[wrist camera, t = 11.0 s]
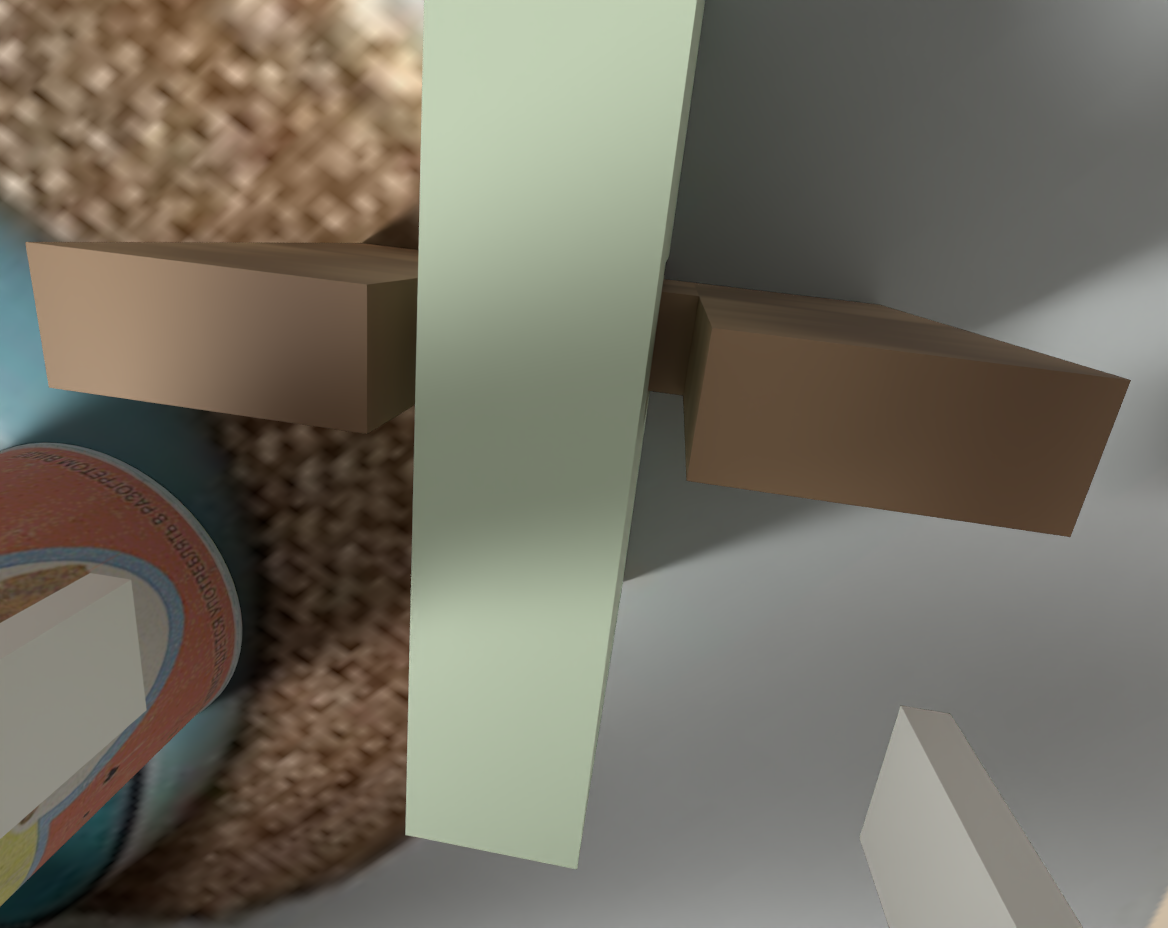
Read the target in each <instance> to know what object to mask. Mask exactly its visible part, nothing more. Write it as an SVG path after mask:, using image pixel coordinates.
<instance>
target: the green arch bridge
mask: <svg viewBox="0 0 1168 928" xmlns="http://www.w3.org/2000/svg"><path fill="white" fill-rule="evenodd" d="M704 6H705V0H424V31H423V76H422V120H421V164H420V209H419V253H418V297H417V342H416V386H415V431H414V475H413V519H412V564H411V608H410V652H409V697H408V741H407V785H406V830H405V835H408V836H413V837H418V838H423V839H428V840H433V841H438V842H443V843H448V844H453V845H458V846H463V847H468V848H473V849H478V850H483V851H488V852H493V853H498V854H503V855H508V856H513V857H518V858H523V859H527V860H532V861H537V862H542V863H547V864H552V865H557V866H562V867H567V868H572V869H577V866H578V859H579V853H580V847H581V841H582V834H583V828H584V822H585V816H586V809H587V803H588V797H589V791H590V784H591V778H592V772H593V766H594V759H595V753H596V747H597V741H598V734H599V728H600V722H601V716H602V710H603V703H604V697H605V691H606V685H607V678H608V672H609V666H610V660H611V653H612V647H613V641H614V635H615V628H616V622H617V616H618V610H619V603H620V597H621V591H622V585H623V578H624V571H625V564H626V557H627V550H628V543H629V536H630V529H631V521H632V514H633V507H634V500H635V493H636V486H637V479H638V472H639V465H640V458H641V451H642V444H643V437H644V430H645V423H646V415H647V408H648V401H649V394H650V391H648V385H649V378H650V371H651V363H652V356H653V349H654V342H655V335H656V328H657V321H658V314H659V306H660V299H661V292H662V285H663V278H664V271H665V264H666V261H667V260H668V258H669V253H670V246H671V239H672V232H673V225H674V218H675V211H676V204H677V197H678V189H679V182H680V175H681V168H682V161H683V154H684V147H685V140H686V133H687V126H688V119H689V112H690V105H691V98H692V91H693V84H694V76H695V69H696V62H697V55H698V48H699V41H700V34H701V27H702V20H703V13H704Z"/></svg>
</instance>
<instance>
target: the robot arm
mask: <svg viewBox="0 0 1168 928" xmlns="http://www.w3.org/2000/svg"><path fill="white" fill-rule="evenodd" d="M146 710H147V709H146V701H145V692H144V684H143V675H142V667H141V659H140V650H139V642H138V633H137V625H136V616H135V608H134V599H133V591H132V583H131V580H130V579H124V578H118V577H112V576H106V575H100V574H94V573H89V574H88V575H86V576H84V577H82V578H80V579H79V580H77V581H75V582H73V583H71V584H70V585H68V586H66V587H64V588H62V589H61V590H59V591H57V592H55V593H53V594H52V595H50V596H48V597H46V598H44V599H43V600H41V601H39V602H37V603H35V604H34V605H32V606H30V607H28V608H26V609H25V610H23V611H21V612H19V613H17V614H16V615H14V616H12V617H10V618H8V619H7V620H5V621H3V622H1V623H0V839H1V838H2V837H3V836H4V835H5V834H7V833H8V832H9V831H10V830H11V829H12V828H13V827H14V826H16V825H17V824H18V823H19V822H20V821H21V820H22V819H24V818H25V817H26V816H27V815H28V814H29V813H30V812H32V811H33V810H34V809H35V808H36V807H37V806H38V805H39V804H41V803H42V802H43V801H44V800H45V799H46V798H47V797H49V796H50V795H51V794H52V793H53V792H54V791H55V790H57V789H58V788H59V787H60V786H61V785H62V784H63V783H64V782H66V781H67V780H68V779H69V778H70V777H71V776H72V775H74V774H75V773H76V772H77V771H78V770H79V769H80V768H82V767H83V766H84V765H85V764H86V763H87V762H88V761H89V760H91V759H92V758H93V757H94V756H95V755H96V754H97V753H99V752H100V751H101V750H102V749H103V748H104V747H105V746H107V745H108V744H109V743H110V742H111V741H112V740H113V739H114V738H116V737H117V736H118V735H119V734H120V733H121V732H122V731H124V730H125V729H126V728H127V727H128V726H129V725H130V724H132V723H133V722H134V721H135V720H136V719H137V718H138V717H139V716H141V715H142V714H143V713H144V712H145V711H146ZM859 839H860V842H861V845H862V848H863V851H864V854H865V857H866V860H867V863H868V866H869V869H870V872H871V875H872V878H873V881H874V884H875V887H876V890H877V893H878V896H879V899H880V902H881V905H882V908H883V911H884V914H885V917H886V920H887V923H888V926H889V928H1083V927H1082V925H1081V924H1080V922H1079V920H1078V919H1077V917H1076V916H1075V914H1074V912H1073V911H1072V909H1071V908H1070V906H1069V904H1068V903H1067V901H1066V899H1065V898H1064V896H1063V895H1062V893H1061V891H1060V890H1059V888H1058V887H1057V885H1056V883H1055V882H1054V880H1053V879H1052V877H1051V875H1050V874H1049V872H1048V870H1047V869H1046V867H1045V866H1044V864H1043V862H1042V861H1041V859H1040V858H1039V856H1038V854H1037V853H1036V851H1035V850H1034V848H1033V846H1032V845H1031V843H1030V841H1029V840H1028V838H1027V837H1026V835H1025V833H1024V832H1023V830H1022V829H1021V827H1020V825H1019V824H1018V822H1017V820H1016V819H1015V817H1014V816H1013V814H1012V812H1011V811H1010V809H1009V808H1008V806H1007V804H1006V803H1005V801H1004V800H1003V798H1002V796H1001V795H1000V793H999V791H998V790H997V788H996V787H995V785H994V783H993V782H992V780H991V779H990V777H989V775H988V774H987V772H986V771H985V769H984V767H983V766H982V764H981V762H980V761H979V759H978V758H977V756H976V754H975V753H974V751H973V750H972V748H971V746H970V745H969V743H968V742H967V740H966V738H965V737H964V735H963V733H962V732H961V730H960V729H959V727H958V725H957V724H956V722H955V721H954V719H953V717H952V716H951V714H950V713H944V712H938V711H932V710H925V709H919V708H913V707H907V706H900V709H899V712H898V716H897V719H896V722H895V725H894V728H893V732H892V735H891V738H890V741H889V744H888V748H887V751H886V754H885V757H884V761H883V764H882V767H881V770H880V773H879V777H878V780H877V783H876V786H875V789H874V793H873V796H872V799H871V802H870V805H869V809H868V812H867V815H866V818H865V821H864V825H863V828H862V831H861V834H860V837H859Z"/></svg>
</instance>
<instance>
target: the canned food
mask: <svg viewBox="0 0 1168 928" xmlns="http://www.w3.org/2000/svg"><path fill="white" fill-rule="evenodd" d="M89 573H94V574H100V575H106V576H112V577H118V578H124V579H130V580H131V583H132V591H133V599H134V608H135V616H136V625H137V633H138V642H139V650H140V659H141V667H142V675H143V684H144V692H145V701H146V709H147V710H146V711H145V712H144V713H143V714H142V715H141V716H139V717H138V718H137V719H136V720H135V721H134V722H133V723H132V724H130V725H129V726H128V727H127V728H126V729H125V730H124V731H122V732H121V733H120V734H119V735H118V736H117V737H116V738H114V739H113V740H112V741H111V742H110V743H109V744H108V745H107V746H105V747H104V748H103V749H102V750H101V751H100V752H99V753H97V754H96V755H95V756H94V757H93V758H92V759H91V760H89V761H88V762H87V763H86V764H85V765H84V766H83V767H82V768H80V769H79V770H78V771H77V772H76V773H75V774H74V775H72V776H71V777H70V778H69V779H68V780H67V781H66V782H64V783H63V784H62V785H61V786H60V787H59V788H58V789H57V790H55V791H54V792H53V793H52V794H51V795H50V796H49V797H47V798H46V799H45V800H44V801H43V802H42V803H41V804H39V805H38V806H37V807H36V808H35V809H34V810H33V811H32V812H30V813H29V814H28V815H27V816H26V817H25V818H24V819H22V820H21V821H20V822H19V823H18V824H17V825H16V826H14V827H13V828H12V829H11V830H10V831H9V832H8V833H7V834H5V835H4V836H3V837H2V838H1V839H0V906H1V905H2V904H3V903H4V902H5V901H6V900H7V899H8V898H9V897H10V896H12V895H13V894H14V893H15V892H16V891H17V890H18V889H19V888H20V887H21V886H22V885H23V884H24V883H25V882H26V881H27V880H28V879H29V878H30V877H31V876H32V875H33V874H34V873H35V872H36V871H37V870H38V869H39V868H40V867H41V866H42V865H43V864H44V863H45V862H46V861H47V860H48V859H49V858H50V857H51V856H52V855H53V854H54V853H55V852H56V851H57V850H58V849H59V848H61V847H62V846H63V845H64V844H65V843H66V842H67V841H68V840H69V839H70V838H71V837H72V836H73V835H74V834H75V833H76V832H77V831H78V830H79V829H80V828H81V827H82V826H83V825H84V824H85V823H86V822H87V821H88V820H89V819H90V818H91V817H92V816H93V815H94V814H95V813H96V812H97V811H98V810H99V809H100V808H101V807H102V806H103V805H104V804H105V803H106V802H107V801H108V800H109V799H111V798H112V797H113V796H114V795H115V794H116V793H117V792H118V791H119V790H120V789H121V788H122V787H123V786H124V785H125V784H126V783H127V782H128V781H129V780H130V779H131V778H132V777H133V776H134V775H135V774H136V773H137V772H138V771H139V770H140V769H141V768H142V767H143V766H144V765H145V764H146V763H147V762H148V761H149V760H150V759H151V758H152V757H153V756H154V755H155V754H156V753H157V752H158V751H160V750H161V749H162V748H163V747H164V746H165V745H166V744H167V743H168V742H169V741H170V740H171V739H172V738H173V737H174V736H175V735H176V734H177V733H178V732H179V731H180V730H181V729H182V728H183V727H184V726H185V725H186V724H187V723H188V722H189V721H190V720H191V719H192V718H193V717H194V716H195V715H197V714H199V713H200V712H202V711H203V710H204V709H205V708H207V707H208V706H209V705H210V704H211V703H212V702H213V701H214V700H215V699H216V698H217V697H218V696H219V695H220V694H221V693H222V691H223V690H224V689H225V687H226V686H227V685H228V683H229V681H230V679H231V677H232V676H233V673H234V671H235V668H236V666H237V663H238V659H239V655H240V650H241V643H242V618H241V610H240V605H239V600H238V596H237V592H236V589H235V585H234V582H233V580H232V577H231V575H230V572H229V570H228V568H227V566H226V564H225V562H224V560H223V558H222V556H221V554H220V552H219V550H218V549H217V547H216V545H215V544H214V542H213V540H212V539H211V538H210V536H209V535H208V534H207V532H206V531H205V529H204V528H203V527H202V525H201V524H200V523H199V522H198V521H197V519H196V518H195V517H194V516H193V515H192V513H191V512H190V511H189V510H188V509H187V508H186V507H185V506H184V505H183V504H182V503H181V502H180V501H179V500H178V499H176V498H175V497H174V496H173V495H172V494H171V493H170V492H168V491H167V490H166V489H165V488H164V487H162V486H161V485H160V484H158V483H157V482H156V481H154V480H153V479H152V478H150V477H148V476H147V475H145V474H144V473H142V472H141V471H139V470H137V469H136V468H134V467H132V466H130V465H128V464H126V463H124V462H123V461H120V460H118V459H116V458H113V457H111V456H109V455H106V454H104V453H101V452H98V451H95V450H92V449H88V448H84V447H80V446H75V445H69V444H62V443H31V444H25V445H20V446H15V447H12V448H9V449H5V450H2V451H0V623H1V622H3V621H5V620H7V619H8V618H10V617H12V616H14V615H16V614H17V613H19V612H21V611H23V610H25V609H26V608H28V607H30V606H32V605H34V604H35V603H37V602H39V601H41V600H43V599H44V598H46V597H48V596H50V595H52V594H53V593H55V592H57V591H59V590H61V589H62V588H64V587H66V586H68V585H70V584H71V583H73V582H75V581H77V580H79V579H80V578H82V577H84V576H86V575H88V574H89Z"/></svg>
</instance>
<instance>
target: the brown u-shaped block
mask: <svg viewBox="0 0 1168 928" xmlns="http://www.w3.org/2000/svg"><path fill="white" fill-rule="evenodd" d="M26 249H27V255H28V261H29V267H30V273H31V279H32V286H33V292H34V298H35V304H36V310H37V317H38V323H39V329H40V335H41V341H42V348H43V354H44V360H45V366H46V372H47V378H48V385H49V387H50V388H56V389H63V390H70V391H77V392H84V393H90V394H97V395H104V396H111V397H118V398H125V399H131V400H138V401H145V402H152V403H159V404H166V405H172V406H179V407H186V408H193V409H200V410H207V411H213V412H220V413H227V414H234V415H241V416H248V417H254V418H261V419H268V420H275V421H282V422H289V423H295V424H302V425H309V426H316V427H323V428H329V429H336V430H343V431H350V432H357V433H364V434H368V433H369V432H371V431H373V430H374V429H376V428H378V427H379V426H381V425H382V424H384V423H386V422H387V421H389V420H391V419H392V418H394V417H396V416H397V415H399V414H400V413H402V412H404V411H405V410H407V409H409V408H410V407H412V406H413V405H415V386H416V342H417V297H418V253H419V250H415V249H407V248H399V247H390V246H382V245H373V244H365V243H201V242H26ZM1130 381H1131V380H1129V379H1125V378H1122V377H1119V376H1115V375H1112V374H1109V373H1105V372H1102V371H1099V370H1095V369H1092V368H1089V367H1085V366H1082V365H1079V364H1075V363H1072V362H1069V361H1065V360H1062V359H1059V358H1055V357H1052V356H1049V355H1045V354H1042V353H1039V352H1035V351H1032V350H1029V349H1025V348H1022V347H1019V346H1015V345H1012V344H1009V343H1005V342H1002V341H999V340H995V339H992V338H989V337H986V336H982V335H979V334H976V333H972V332H969V331H966V330H962V329H959V328H956V327H952V326H949V325H946V324H942V323H939V322H936V321H932V320H929V319H926V318H922V317H919V316H916V315H912V314H909V313H906V312H902V311H899V310H896V309H892V308H889V307H886V306H882V305H877V304H869V303H860V302H852V301H844V300H835V299H827V298H818V297H810V296H802V295H793V294H785V293H776V292H768V291H760V290H751V289H743V288H735V287H726V286H718V285H709V284H701V283H693V282H684V281H676V280H667V279H663V285H662V292H661V299H660V306H659V314H658V321H657V328H656V335H655V342H654V349H653V356H652V363H651V371H650V378H649V385H648V391H653V392H660V393H668V394H675V395H683V404H684V430H685V455H686V480H687V481H691V482H698V483H705V484H712V485H719V486H726V487H732V488H739V489H746V490H753V491H760V492H767V493H773V494H780V495H787V496H794V497H801V498H808V499H814V500H821V501H828V502H835V503H842V504H848V505H855V506H862V507H869V508H876V509H883V510H889V511H896V512H903V513H910V514H917V515H924V516H930V517H937V518H944V519H951V520H958V521H965V522H971V523H978V524H985V525H992V526H999V527H1006V528H1012V529H1019V530H1026V531H1033V532H1040V533H1047V534H1053V535H1060V536H1067V537H1071V534H1072V531H1073V529H1074V526H1075V524H1076V521H1077V518H1078V516H1079V513H1080V511H1081V508H1082V505H1083V503H1084V500H1085V498H1086V495H1087V492H1088V490H1089V487H1090V485H1091V482H1092V479H1093V477H1094V474H1095V472H1096V469H1097V466H1098V464H1099V461H1100V459H1101V456H1102V454H1103V451H1104V448H1105V446H1106V443H1107V441H1108V438H1109V435H1110V433H1111V430H1112V428H1113V425H1114V422H1115V420H1116V417H1117V415H1118V412H1119V409H1120V407H1121V404H1122V402H1123V399H1124V396H1125V394H1126V391H1127V389H1128V386H1129V383H1130Z"/></svg>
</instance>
